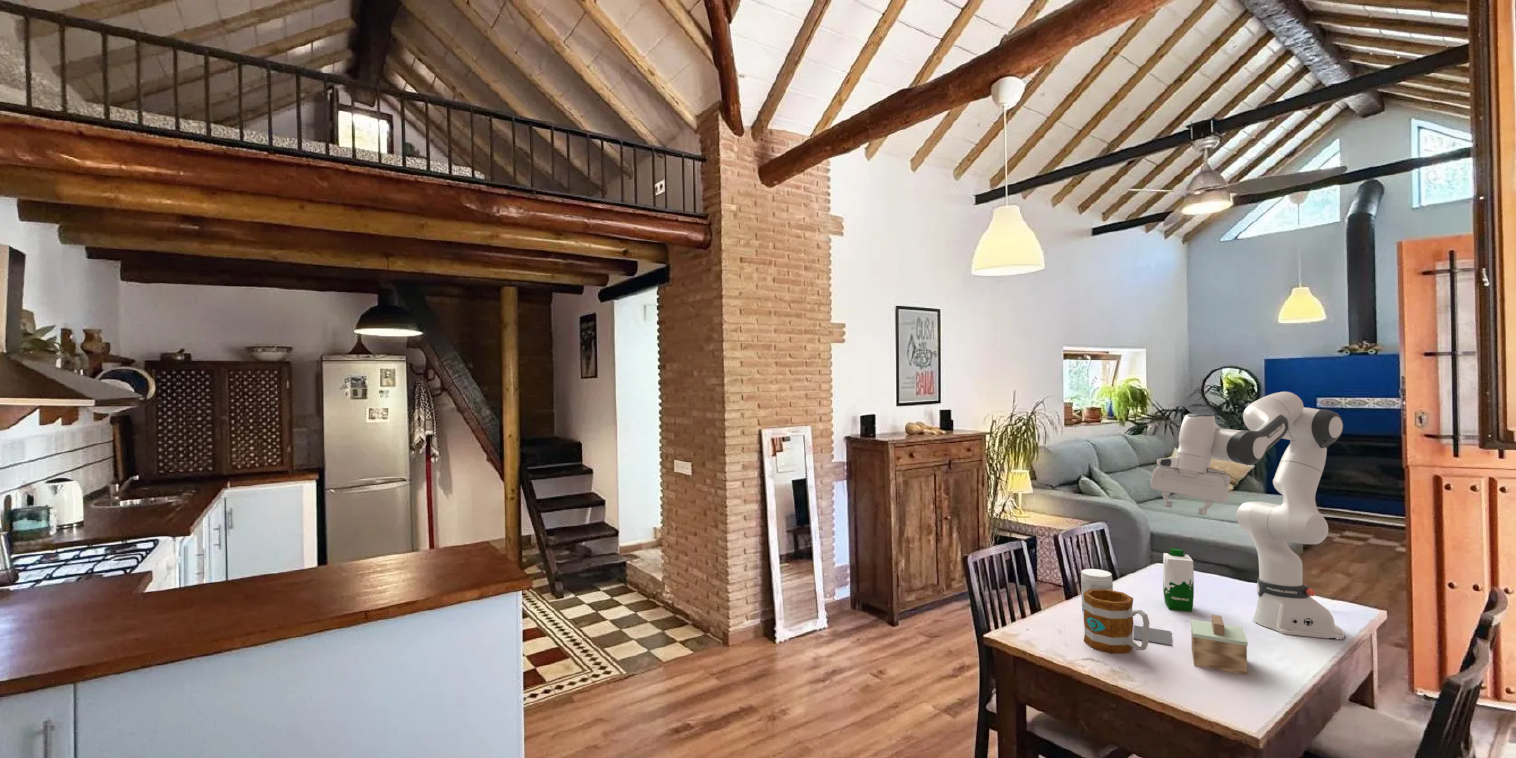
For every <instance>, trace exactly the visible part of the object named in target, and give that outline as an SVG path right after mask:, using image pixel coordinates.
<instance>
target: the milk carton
mask: <svg viewBox="0 0 1516 758" xmlns="http://www.w3.org/2000/svg"><path fill="white" fill-rule="evenodd" d="M1162 557H1163V559H1162V560H1163V562H1162V563H1163V564H1162V565H1163V566H1162V568H1163V569H1162V577H1163V578H1162V582H1163V584H1162V588H1163V589H1162V590H1163V598H1164V599H1163V600H1164V603H1165V606H1166V607H1167V609H1168V610H1170V611H1178V612H1186V613H1188V612H1189V613H1193V609H1194V598H1195V597H1194V596H1195V595H1194V593H1195V591H1194V590H1195V588H1194V587H1195V584H1194V583H1195V581H1194V580H1195V579H1194V576H1195V575H1194V573H1195V572H1194V569H1195V568H1194V560H1193V559H1192V557H1190V556H1189V554H1185V553H1184V550H1183V549H1182V548H1179V547H1171V548H1169V552H1168V553H1167V552H1163V556H1162Z"/></svg>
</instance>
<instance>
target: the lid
mask: <svg viewBox="0 0 1516 758" xmlns="http://www.w3.org/2000/svg"><path fill="white" fill-rule="evenodd" d="M1210 616H1211V621H1207V620H1206V621H1204V620H1200V619H1199V620H1197V619H1191V618H1190V628H1192V634H1193V637H1196V638H1202V639H1208V640H1214V641H1220V642H1226V643H1232V644H1238V645H1244V646H1247V647H1248V646H1249V645H1248V644H1249V643H1248V642H1249V641H1248V640H1247V637H1246V634H1245V632H1244V628H1243V627H1242V626H1239V625H1230V624H1225V622H1224V620H1223V616H1222V615H1218V614H1211V615H1210Z"/></svg>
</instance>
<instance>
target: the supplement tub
mask: <svg viewBox="0 0 1516 758" xmlns="http://www.w3.org/2000/svg"><path fill="white" fill-rule="evenodd" d="M1113 581H1114V580H1113V574H1112V573H1111V572H1110V571H1107V570H1103V569H1096V568H1085V569H1082V570H1081V574H1080V582H1081V583H1080V585H1081V588H1080V589H1081V612H1082V614H1083V615H1084V609H1085V605H1084V594H1083V593H1084V592H1086V591H1087V590H1088V589H1108V590H1113V591H1114V587H1113V586H1114V584H1113Z"/></svg>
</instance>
